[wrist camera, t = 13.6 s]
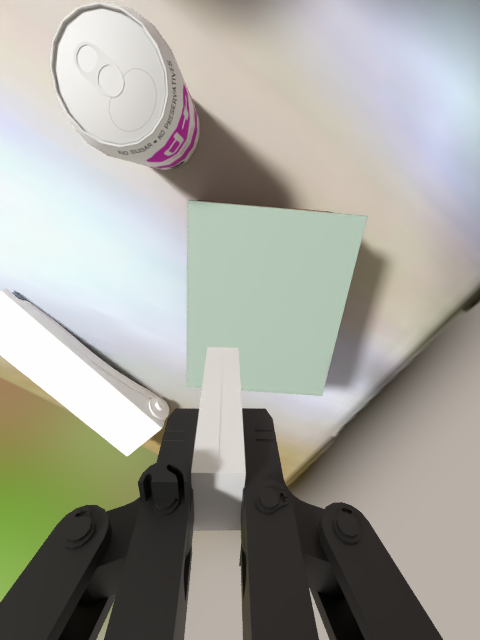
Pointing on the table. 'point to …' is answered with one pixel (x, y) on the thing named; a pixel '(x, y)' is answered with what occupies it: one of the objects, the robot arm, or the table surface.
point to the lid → (268, 291)
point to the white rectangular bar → (78, 376)
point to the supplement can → (123, 86)
